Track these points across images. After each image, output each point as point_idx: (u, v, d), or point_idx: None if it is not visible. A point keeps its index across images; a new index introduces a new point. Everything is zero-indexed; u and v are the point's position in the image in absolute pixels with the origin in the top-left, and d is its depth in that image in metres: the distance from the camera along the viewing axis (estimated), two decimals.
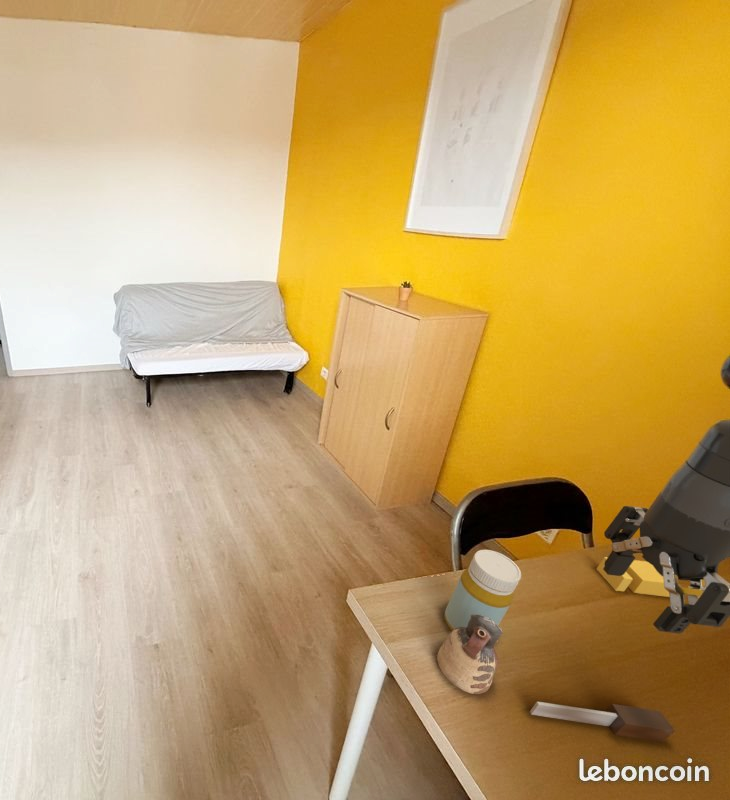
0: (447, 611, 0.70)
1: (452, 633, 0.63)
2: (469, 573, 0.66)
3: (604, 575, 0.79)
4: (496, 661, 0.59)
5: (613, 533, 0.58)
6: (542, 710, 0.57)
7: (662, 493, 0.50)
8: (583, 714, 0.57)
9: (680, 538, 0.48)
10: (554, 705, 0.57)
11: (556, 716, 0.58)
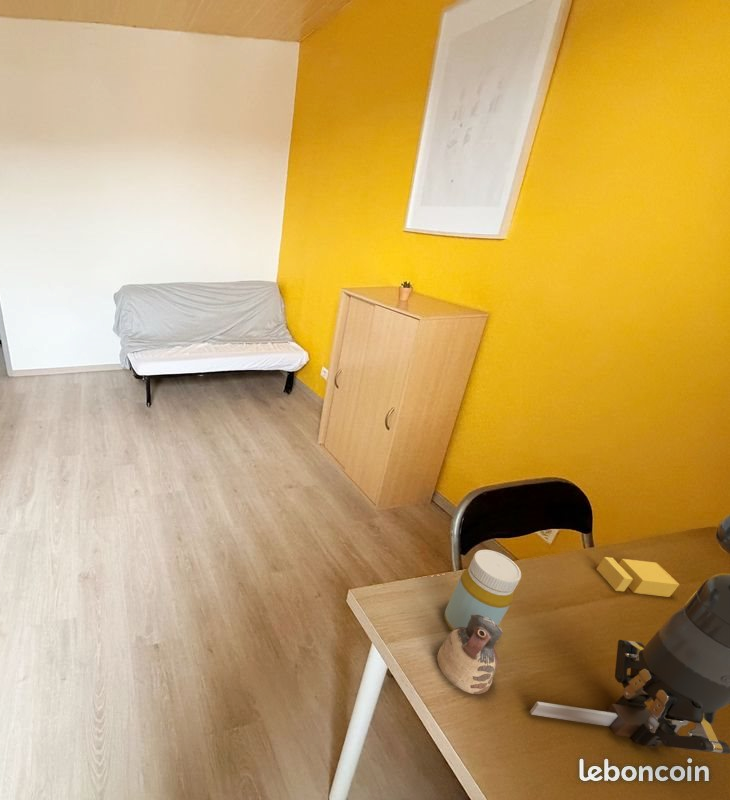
0: (447, 611, 0.70)
1: (452, 633, 0.63)
2: (469, 573, 0.66)
3: (604, 575, 0.79)
4: (496, 661, 0.59)
5: (622, 674, 0.58)
6: (542, 710, 0.57)
7: (660, 634, 0.51)
8: (583, 714, 0.57)
9: (678, 684, 0.49)
10: (554, 705, 0.57)
11: (556, 716, 0.58)
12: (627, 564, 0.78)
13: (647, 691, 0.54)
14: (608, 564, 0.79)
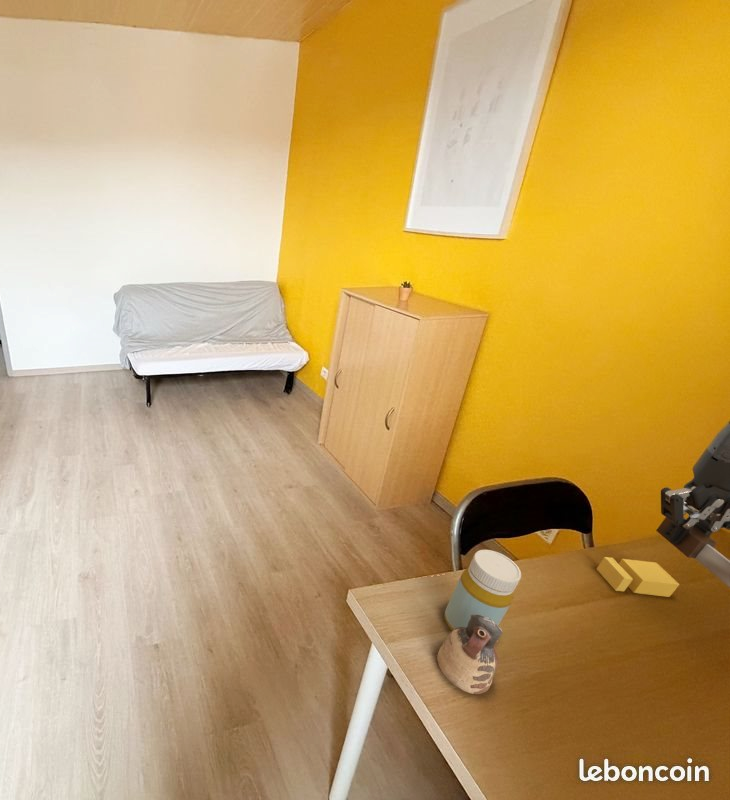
0: (447, 611, 0.70)
1: (452, 633, 0.63)
2: (469, 573, 0.66)
3: (604, 575, 0.79)
4: (496, 661, 0.59)
5: (682, 517, 0.66)
6: None
7: None
8: None
9: None
10: None
11: None
12: (627, 564, 0.78)
13: None
14: (608, 564, 0.79)
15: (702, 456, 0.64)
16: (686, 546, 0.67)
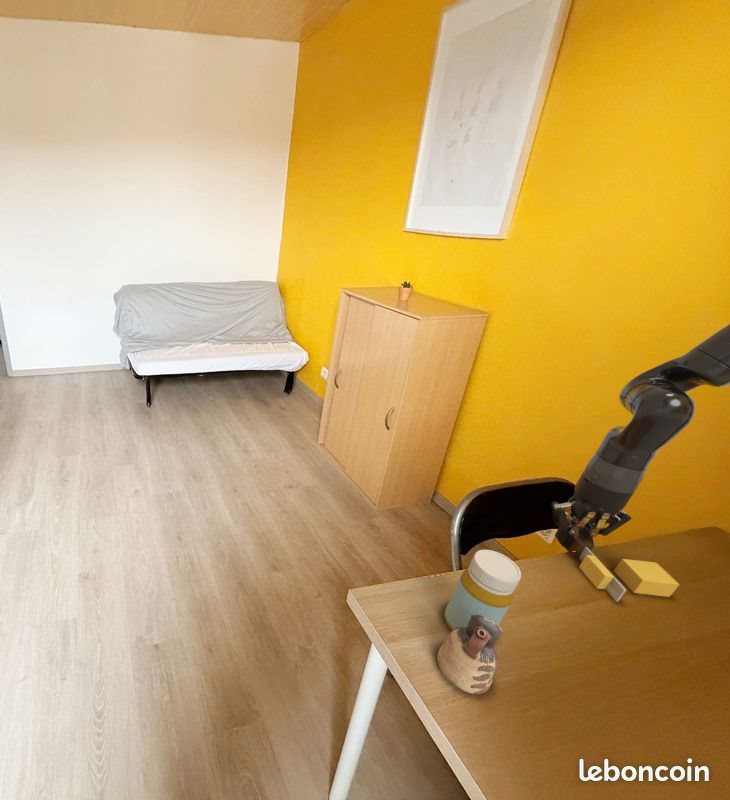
0: (447, 611, 0.70)
1: (452, 633, 0.63)
2: (469, 573, 0.66)
3: (586, 573, 0.80)
4: (496, 661, 0.59)
5: (567, 525, 0.83)
6: None
7: (612, 489, 0.76)
8: None
9: None
10: (616, 579, 0.75)
11: None
12: (627, 564, 0.78)
13: None
14: (590, 562, 0.79)
15: (580, 477, 0.81)
16: (572, 548, 0.84)
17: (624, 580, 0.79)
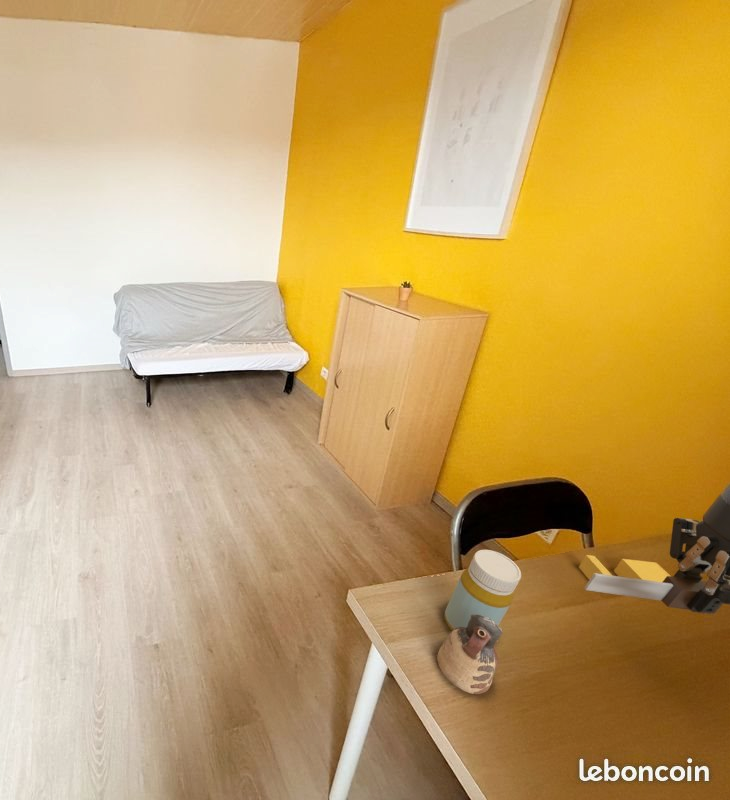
0: (447, 611, 0.70)
1: (452, 633, 0.63)
2: (469, 573, 0.66)
3: (586, 573, 0.80)
4: (496, 661, 0.59)
5: (678, 550, 0.60)
6: (599, 582, 0.60)
7: (722, 495, 0.53)
8: (640, 584, 0.59)
9: None
10: (611, 576, 0.59)
11: (612, 588, 0.60)
12: (627, 564, 0.78)
13: (705, 558, 0.56)
14: (590, 562, 0.79)
15: None
16: None
17: None
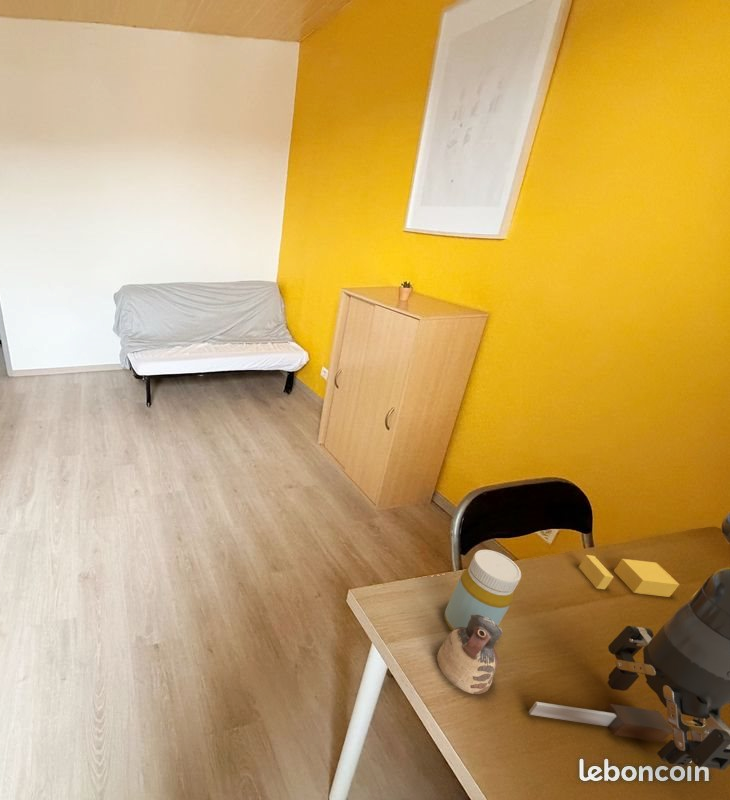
0: (447, 611, 0.70)
1: (452, 633, 0.63)
2: (469, 573, 0.66)
3: (586, 573, 0.80)
4: (496, 661, 0.59)
5: (617, 650, 0.59)
6: (541, 710, 0.57)
7: (665, 629, 0.51)
8: (582, 714, 0.57)
9: (684, 680, 0.48)
10: (553, 705, 0.57)
11: (555, 716, 0.58)
12: (627, 564, 0.78)
13: None
14: (590, 562, 0.79)
15: None
16: None
17: (624, 580, 0.79)
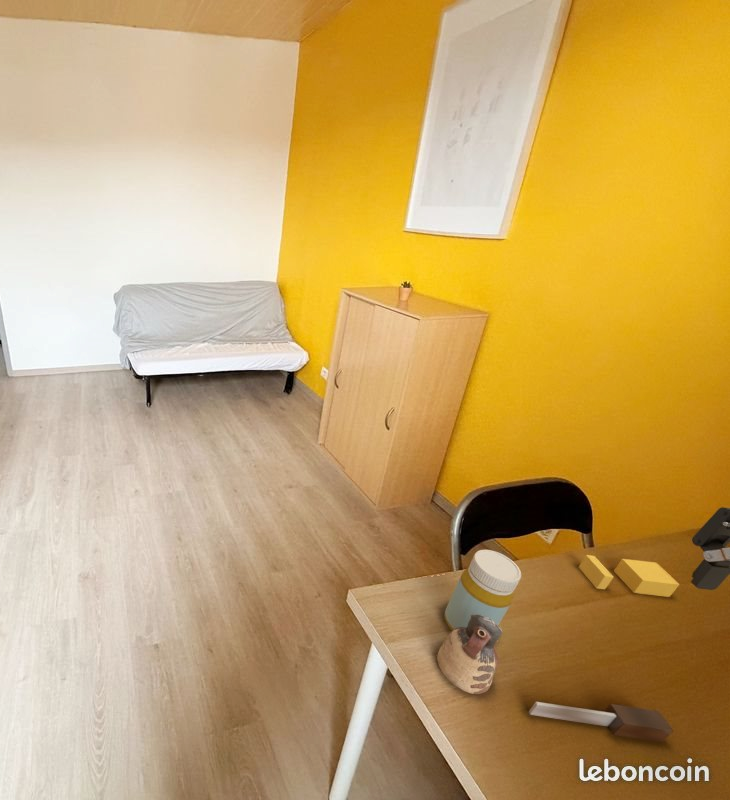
0: (447, 611, 0.70)
1: (452, 633, 0.63)
2: (469, 573, 0.66)
3: (586, 573, 0.80)
4: (496, 661, 0.59)
5: (705, 539, 0.49)
6: (541, 710, 0.57)
7: None
8: (582, 714, 0.57)
9: None
10: (553, 705, 0.57)
11: (555, 716, 0.58)
12: (627, 564, 0.78)
13: None
14: (590, 562, 0.79)
15: None
16: None
17: (624, 580, 0.79)
